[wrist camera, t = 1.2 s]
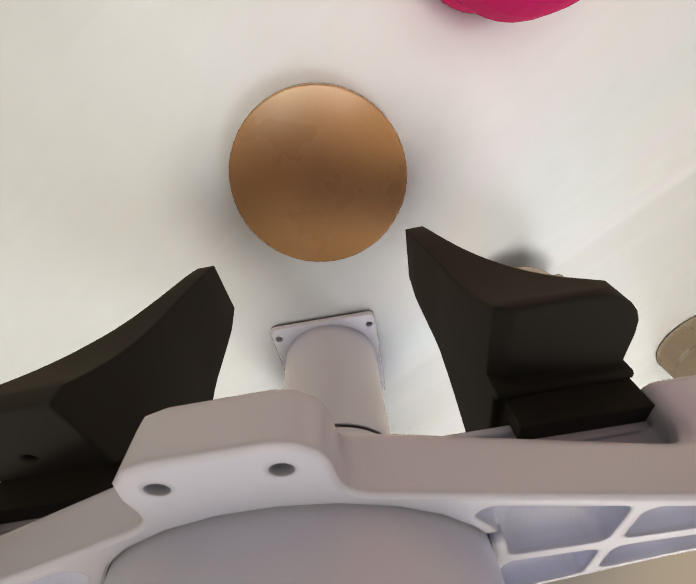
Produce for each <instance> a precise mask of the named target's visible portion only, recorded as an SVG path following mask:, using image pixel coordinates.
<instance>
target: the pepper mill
mask: <svg viewBox="0 0 696 584" xmlns="http://www.w3.org/2000/svg"><path fill="white" fill-rule="evenodd" d="M441 1H442V2H443V3H445V4H447V5H448V6H450V7H451V8H453V9H456V10H459V11H461V12H466V13H476V14H478V15H480V16H483V17H485V18H487V19H491V20H494V21H499V22H511V23H514V22H521V21H528V20H533V19H536V18H539V17H542V16H545V15H548V14H551V13H554V12H556V11H559V10H561V9H564V8H566V7H569V6H570V5H572V4H574V3H576V2H577V1H579V0H441Z"/></svg>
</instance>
